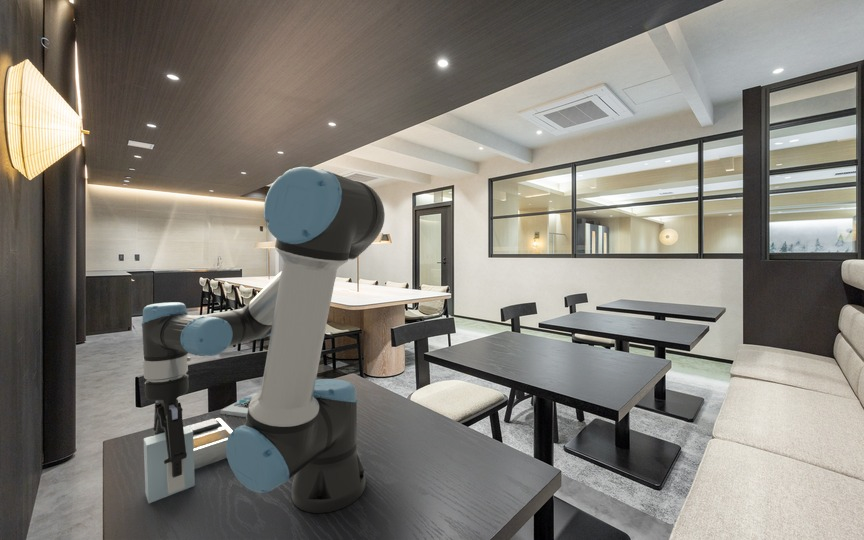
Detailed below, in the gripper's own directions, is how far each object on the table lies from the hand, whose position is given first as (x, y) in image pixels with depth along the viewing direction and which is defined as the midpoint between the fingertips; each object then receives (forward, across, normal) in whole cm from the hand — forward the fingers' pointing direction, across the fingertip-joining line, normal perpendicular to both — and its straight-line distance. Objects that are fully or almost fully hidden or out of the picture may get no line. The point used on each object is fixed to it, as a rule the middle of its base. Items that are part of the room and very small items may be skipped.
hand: (170, 476), depth 78 cm
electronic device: (+4, +30, -30) cm, 43 cm away
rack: (+3, +12, -9) cm, 16 cm away
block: (+3, 0, 0) cm, 3 cm away
